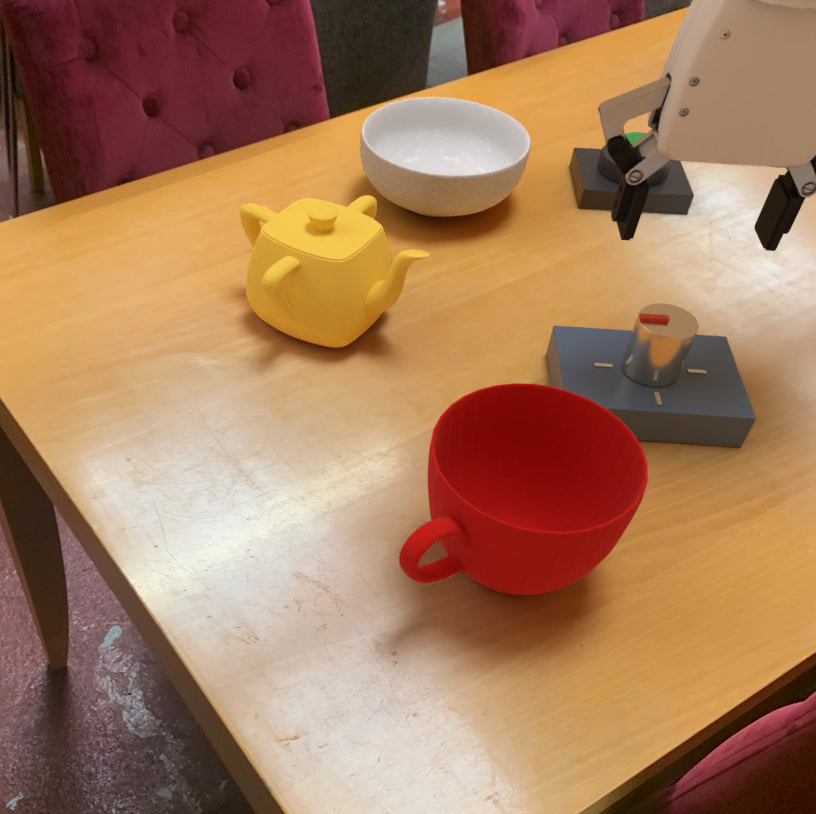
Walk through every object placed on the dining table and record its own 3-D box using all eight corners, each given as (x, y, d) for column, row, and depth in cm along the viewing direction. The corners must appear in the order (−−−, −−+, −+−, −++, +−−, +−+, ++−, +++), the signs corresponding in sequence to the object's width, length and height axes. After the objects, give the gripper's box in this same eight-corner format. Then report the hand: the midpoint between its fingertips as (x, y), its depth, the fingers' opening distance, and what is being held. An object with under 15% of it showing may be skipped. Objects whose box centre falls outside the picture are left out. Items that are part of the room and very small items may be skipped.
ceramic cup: (330, 568, 60) (335, 464, 53) (506, 462, 67) (533, 356, 60) (464, 705, 53) (493, 607, 46) (645, 571, 60) (695, 467, 53)
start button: (652, 149, 93) (657, 132, 92) (659, 168, 90) (664, 151, 89) (613, 147, 93) (618, 130, 92) (619, 165, 91) (623, 149, 89)
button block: (671, 172, 97) (683, 136, 94) (687, 215, 91) (700, 178, 88) (569, 166, 98) (577, 130, 95) (578, 209, 92) (588, 172, 89)
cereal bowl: (465, 262, 85) (476, 193, 80) (324, 206, 92) (327, 138, 86) (546, 191, 94) (561, 125, 89) (413, 144, 101) (420, 80, 95)
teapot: (387, 270, 84) (396, 166, 76) (416, 355, 75) (431, 248, 68) (242, 280, 83) (237, 175, 75) (255, 368, 74) (251, 259, 66)
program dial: (673, 353, 71) (694, 301, 67) (683, 389, 68) (706, 337, 65) (617, 349, 71) (635, 298, 68) (625, 385, 68) (644, 333, 65)
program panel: (713, 365, 75) (727, 334, 73) (741, 447, 68) (757, 417, 66) (545, 354, 76) (553, 323, 73) (557, 434, 69) (566, 403, 67)
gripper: (935, -55, 52) (804, 216, 64) (633, -72, 52) (563, 199, 65) (989, -10, 47) (836, 274, 59) (654, -29, 47) (574, 255, 60)
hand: (693, 235), depth 62 cm, fingers open, 9 cm apart
